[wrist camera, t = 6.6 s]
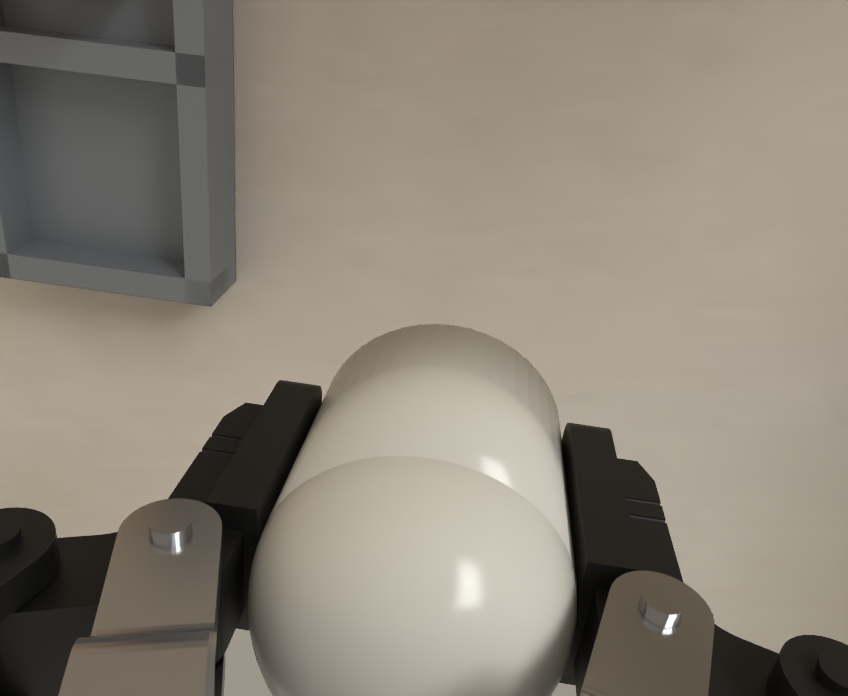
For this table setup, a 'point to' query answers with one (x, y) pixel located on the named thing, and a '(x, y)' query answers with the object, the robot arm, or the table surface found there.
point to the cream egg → (421, 530)
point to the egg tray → (118, 146)
